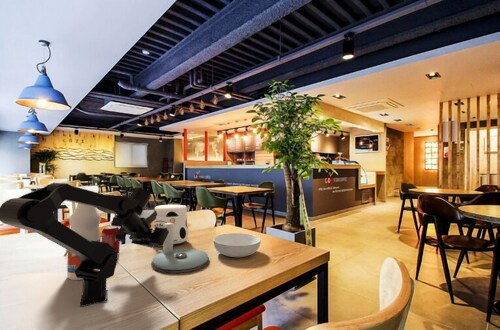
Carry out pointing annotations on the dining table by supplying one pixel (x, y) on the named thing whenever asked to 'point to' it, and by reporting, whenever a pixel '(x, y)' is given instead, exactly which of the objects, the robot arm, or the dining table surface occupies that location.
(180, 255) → the pivot base
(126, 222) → the robot arm
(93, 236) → the fruit juice
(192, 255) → the grey round stand
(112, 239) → the soda can
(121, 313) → the dining table surface
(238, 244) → the serving bowl
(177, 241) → the milk container
